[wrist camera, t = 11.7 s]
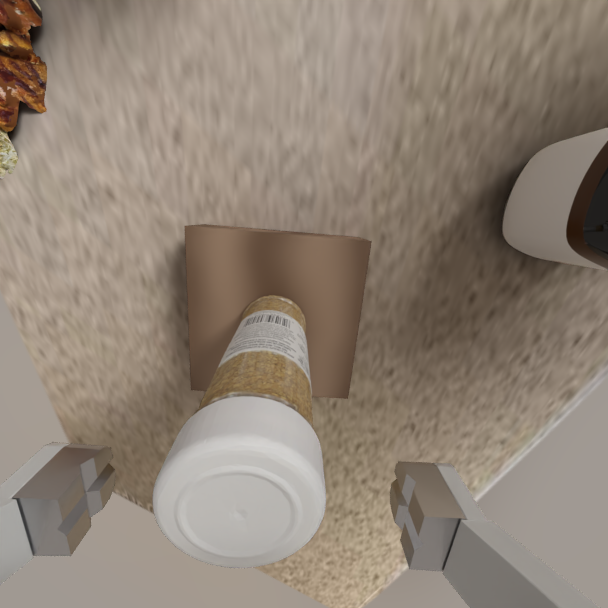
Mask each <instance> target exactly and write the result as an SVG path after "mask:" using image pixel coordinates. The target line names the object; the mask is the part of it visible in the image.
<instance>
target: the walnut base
mask: <svg viewBox="0 0 608 608" xmlns="http://www.w3.org/2000/svg"><path fill="white" fill-rule="evenodd" d="M185 248H186V273H187V299H188V325H189V351H190V376H191V390H197V391H207V389H208V387H209V385H210V383H211V380H212V378H213V376H214V374H215V372H216V370H217V368H218V366H219V364H220V362H221V359H222V357H223V355H224V353H225V352H226V350H227V347H228V346H229V344H230V342H231V340H232V338H233V336H234V335H235V333H236V331H237V329H238V327H239V325H240V323H241V320H242V316H243V313H244V311H245V310H246V308H247V307H248V306H249V305H250V304H251V303H252V302H254V301H255V300H257V299H259V298H261V297H264V296H269V295H275V296H282V297H285V298H288V299H290V300H291V301H293V302H294V303H295V304H296V305H297V306H298V307H299V308H300V309H301V311H302V313H303V315H304V317H305V322H306V330H305V336H306V340H307V349H308V360H309V370H310V380H311V389H312V397H329V398H348V395H349V388H350V382H351V375H352V368H353V362H354V355H355V348H356V342H357V335H358V328H359V322H360V315H361V308H362V301H363V295H364V288H365V281H366V275H367V268H368V261H369V255H370V248H371V241H368V240H365V239H362V238H359V237H348V236H336V235H324V234H313V233H301V232H289V231H277V230H265V229H253V228H241V227H229V226H217V225H205V224H203V225H190V226H185Z"/></svg>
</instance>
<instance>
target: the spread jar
mask: <svg viewBox="0 0 608 608" xmlns="http://www.w3.org/2000/svg"><path fill="white" fill-rule="evenodd" d="M501 229H502V235H503V237H504V239H505V241H506V242H507V243H508V244H509V245H510V246H512V247H513V248H515V249H517V250H518V251H520V252H522V253H525V254H527V255H530V256H533V257H536V258H540V259H544V260H549V261H553V262H559V263H564V264H570V265H576V266H582V267H588V268H594V269H600V270H606V271H608V128H604V129H600V130H597V131H593V132H590V133H586V134H583V135H579V136H576V137H572V138H569V139H566V140H563V141H559V142H557V143H554V144H551V145H549V146H547V147H545V148H544V149H542V150H540V151H539V152H537V153H536V154H535V155H534V156H533V157H532V158H531V159H530V161H529V162H528V163H527V164H526V165H525V167H524V168H523V169H522V171H521V172H520V174H519V175H518V177H517V179H516V180H515V182H514V184H513V186H512V188H511V190H510V193H509V195H508V198H507V200H506V203H505V207H504V211H503V216H502V224H501Z"/></svg>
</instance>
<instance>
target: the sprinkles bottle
mask: <svg viewBox="0 0 608 608" xmlns="http://www.w3.org/2000/svg"><path fill="white" fill-rule="evenodd" d="M305 330H306V322H305V317H304V315H303V313H302V311H301V309H300V308H299V307H298V306H297V305H296V304H295V303H294V302H293V301H291V300H290V299H288V298H285V297H282V296H275V295H269V296H264V297H261V298H259V299H257V300H255V301H254V302H252V303H251V304H250V305H249V306H248V307H247V308H246V310H245V311H244V313H243V316H242V320H241V323H240V325H239V327H238V329H237V331H236V333H235V335H234V336H233V338H232V340H231V342H230V344H229V346H228V347H227V350H226V352H225V353H224V355H223V357H222V359H221V362H220V364H219V366H218V368H217V370H216V372H215V374H214V376H213V378H212V380H211V383H210V385H209V387H208V389H207V391H206V393H205V395H204V397H203V400H202V401H201V403H200V406H199V409H198V410H197V411H196V412H195V413H194V414H193V416H192V417H191V418H189V419H188V421H187V422H186V423H185V424H184V425H183V427H182V429H181V430H180V432H179V434H178V436H177V438H176V440H175V441H174V443H173V445H172V447H171V449H170V451H169V453H168V455H167V457H166V459H165V461H164V464H163V466H162V468H161V470H160V472H159V474H158V477H157V479H156V482H155V486H154V490H153V511H154V515H155V518H156V521H157V524H158V526H159V527H160V529H161V531H162V532H163V534H164V535H165V536H166V537H167V539H168V540H169V541H170V542H171V543H172V544H173V545H174V546H175V547H177V548H178V549H180V550H181V551H182V552H184V553H185V554H187V555H189V556H191V557H193V558H195V559H197V560H199V561H202V562H205V563H208V564H212V565H216V566H221V567H229V568H251V567H259V566H263V565H268V564H271V563H274V562H277V561H280V560H282V559H285V558H287V557H289V556H290V555H292V554H294V553H295V552H297V551H298V550H300V549H301V548H302V547H303V546H304V545H305V544H307V543H308V542H309V541H310V540H311V538H312V537H313V536H314V534H315V533H316V531H317V530H318V528H319V526H320V524H321V521H322V519H323V516H324V512H325V506H326V491H325V478H324V469H323V459H322V451H321V446H320V442H319V440H318V437H317V434H316V432H315V429H314V428H313V417H312V403H311V399H312V389H311V380H310V370H309V360H308V349H307V340H306V336H305Z"/></svg>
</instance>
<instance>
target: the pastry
mask: <svg viewBox="0 0 608 608" xmlns="http://www.w3.org/2000/svg"><path fill="white" fill-rule="evenodd" d="M41 23H42V12H41V9H40V6H39V5H38V3H37V2H36V1H35V0H0V178H1V179H3V178H4V175H5V173H6V170H5V169H8V173H10V174H11V173H12V172H13V170H14V167H15V165H16V163H17V160H18V156H17V152H16V151H15V149H14V145H13V144H12V143H11V141H10V140H9V137H8V135H7V132H8V131H12V130H13V128H14V127H15V126H17V124H16V122H17V118H18V107H19V102H20V100H21V101H23V102H24V103H26V104H27V105H28V106H29V108H32V109H35V110H37V111H38V112H41V113H43V112H46V108H45V106H44V96H45V93H44V92H45V91H46V82H47V66H46V64H45V62H43V61H41V59H40V57H36V55H35V53H34V52H33V49H32V46H31V44H30V43H32V42H31V41H30V35H29V33H28V30H29V29H31V25H32V26H34V27H36V26H41Z"/></svg>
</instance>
